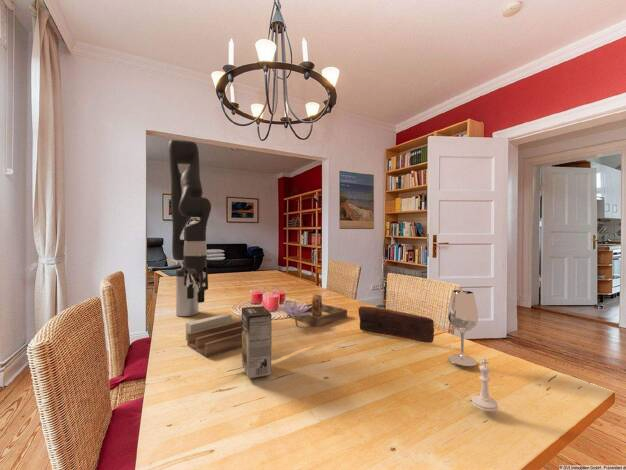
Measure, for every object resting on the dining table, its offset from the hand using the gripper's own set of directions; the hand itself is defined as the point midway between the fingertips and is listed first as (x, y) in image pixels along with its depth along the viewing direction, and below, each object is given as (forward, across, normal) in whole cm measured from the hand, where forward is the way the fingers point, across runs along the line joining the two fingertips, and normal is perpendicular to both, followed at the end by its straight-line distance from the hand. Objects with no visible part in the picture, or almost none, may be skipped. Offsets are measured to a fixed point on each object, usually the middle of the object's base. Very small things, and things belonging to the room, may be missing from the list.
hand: (195, 300), depth 105 cm
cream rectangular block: (+14, 0, +5) cm, 14 cm away
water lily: (+14, +15, +34) cm, 39 cm away
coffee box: (+14, +35, +1) cm, 37 cm away
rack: (+13, +11, +5) cm, 18 cm away
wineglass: (+14, +73, +46) cm, 87 cm away
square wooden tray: (+13, +13, +48) cm, 52 cm away
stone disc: (+13, +13, +48) cm, 52 cm away
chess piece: (+14, +84, +26) cm, 89 cm away
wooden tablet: (+14, +49, +50) cm, 71 cm away
